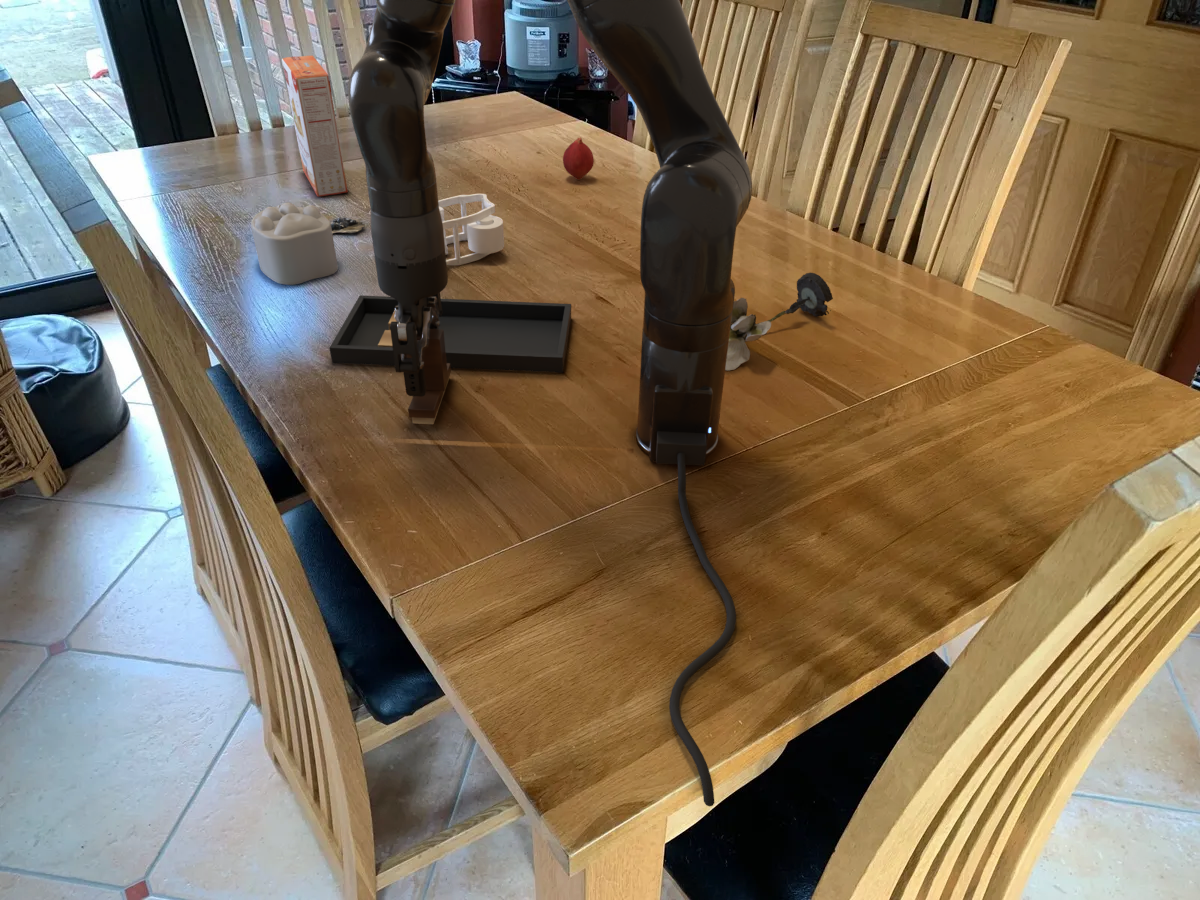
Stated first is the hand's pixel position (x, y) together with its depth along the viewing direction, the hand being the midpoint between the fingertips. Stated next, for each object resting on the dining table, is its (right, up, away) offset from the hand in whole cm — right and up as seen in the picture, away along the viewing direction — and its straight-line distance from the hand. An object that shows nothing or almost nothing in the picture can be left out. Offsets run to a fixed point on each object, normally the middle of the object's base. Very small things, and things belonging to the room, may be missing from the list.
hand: (424, 375), depth 105 cm
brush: (0, -3, +3) cm, 4 cm away
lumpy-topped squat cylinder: (-26, +20, +33) cm, 47 cm away
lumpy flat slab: (-23, +28, +44) cm, 57 cm away
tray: (+2, +6, +15) cm, 16 cm away
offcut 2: (-5, +8, +17) cm, 19 cm away
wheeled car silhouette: (-3, +21, +36) cm, 42 cm away
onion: (+17, +43, +66) cm, 80 cm away
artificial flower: (+43, +6, +17) cm, 47 cm away
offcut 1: (-6, +4, +12) cm, 14 cm away
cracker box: (-31, +41, +61) cm, 80 cm away
